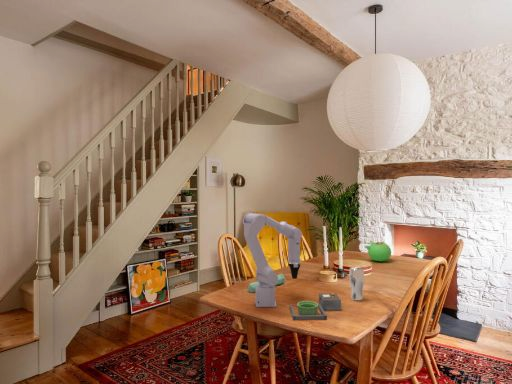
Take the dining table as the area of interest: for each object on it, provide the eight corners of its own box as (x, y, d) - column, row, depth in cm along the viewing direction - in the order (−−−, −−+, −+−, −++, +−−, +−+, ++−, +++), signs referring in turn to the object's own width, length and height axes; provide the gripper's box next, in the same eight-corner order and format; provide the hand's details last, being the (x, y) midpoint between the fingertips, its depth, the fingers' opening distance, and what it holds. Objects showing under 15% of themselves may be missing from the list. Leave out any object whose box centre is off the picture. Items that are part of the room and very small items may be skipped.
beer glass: (361, 296, 169) (361, 266, 169) (366, 301, 162) (366, 269, 162) (347, 296, 169) (347, 266, 169) (352, 301, 162) (351, 270, 162)
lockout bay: (293, 320, 140) (293, 316, 140) (289, 308, 154) (289, 304, 154) (326, 319, 140) (326, 315, 140) (320, 307, 154) (320, 304, 154)
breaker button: (323, 302, 154) (323, 296, 154) (322, 300, 157) (322, 294, 157) (330, 302, 154) (330, 296, 154) (328, 300, 157) (328, 294, 157)
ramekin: (320, 312, 149) (320, 302, 149) (315, 319, 141) (315, 308, 141) (300, 309, 153) (300, 299, 153) (294, 316, 145) (294, 306, 144)
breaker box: (323, 310, 151) (322, 299, 151) (319, 302, 161) (318, 292, 161) (341, 310, 151) (340, 298, 151) (335, 302, 161) (335, 291, 161)
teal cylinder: (251, 282, 177) (283, 272, 194) (244, 284, 181) (276, 274, 198) (254, 293, 176) (286, 282, 193) (247, 295, 180) (279, 284, 197)
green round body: (388, 264, 238) (388, 243, 238) (364, 262, 246) (363, 242, 246) (393, 259, 253) (392, 240, 253) (369, 257, 262) (369, 238, 262)
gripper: (304, 254, 162) (304, 282, 163) (300, 248, 177) (300, 274, 177) (289, 254, 162) (289, 282, 163) (286, 248, 177) (287, 274, 177)
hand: (294, 278), depth 170 cm, fingers closed
